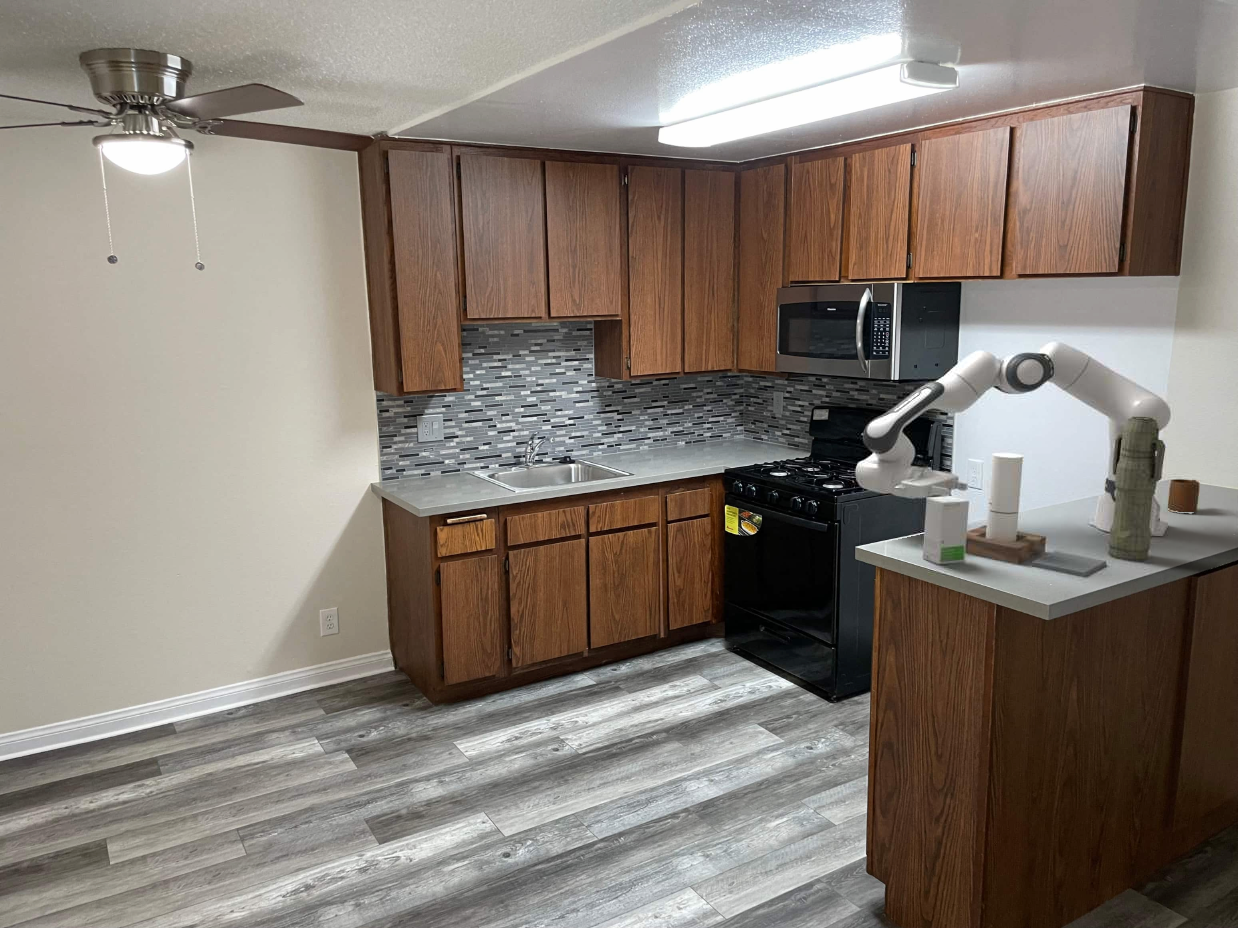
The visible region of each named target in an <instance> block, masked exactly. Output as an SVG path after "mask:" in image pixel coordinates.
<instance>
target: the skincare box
mask: <svg viewBox="0 0 1238 928" xmlns="http://www.w3.org/2000/svg"><path fill="white" fill-rule="evenodd" d="M925 498H926V504H925V518H924V519H925V520H924V534H923V548H922V559H923V560H926V561H929V562H931V563H934V564H937V565H945V564H946V565H947V564H957V563H958V562H959V563H965V560H966V553H965V549H966V535H967V532H968V521H969V518H968V517H969V509H970V508H969V507H970V500H968V499H964V498H960V497H956V496H953V495H952V496H929V497H925ZM959 563H958V564H959Z"/></svg>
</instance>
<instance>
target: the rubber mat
mask: <svg viewBox="0 0 1238 928" xmlns="http://www.w3.org/2000/svg"><path fill="white" fill-rule="evenodd" d="M1106 565H1107V560H1103V559H1098V558H1093V557H1087V556H1083V555H1077V554H1072V553H1069V552H1068V553H1067V552H1063V551H1057V550H1056V551H1052V552H1051V553H1048V554H1047V555H1044V556H1042V557H1040V558H1038V559H1035V560H1033V561H1031V566H1032V567H1034V566H1036V568H1040V569H1044V570H1045V569H1046V570H1049V571H1054V572H1059V573H1064V574H1069V575H1072V576H1077V577H1082V578H1084V577H1086V576H1088V575H1089V574H1091V573H1094V572H1096V571H1097V570H1100V569H1101V568H1104V567H1105V566H1106Z"/></svg>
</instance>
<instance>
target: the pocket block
mask: <svg viewBox="0 0 1238 928" xmlns="http://www.w3.org/2000/svg"><path fill="white" fill-rule="evenodd" d="M986 529H987V524H986V525H983V526H979V527H977V528H974V529H972V530H967V535H966V549H965V554H968V555H972V554H973V555H974V556H978V557H981V558H982V557H983V558H986V559H991V558H992V560H996V559H997V560H996V561H1001V560H1002V562H1005V561H1006V563H1010V562H1011V564H1015V563H1016V564H1015V565H1018V564H1021V563H1023V562H1025V561H1027V560H1030V559H1033V558H1034V557H1036V556H1038V555H1042V554H1043V553H1045V552H1046V542H1047V536H1045V535H1044V536H1043V535H1039V534H1036V533H1035V534H1034V533H1030V532H1028V533H1027V532H1023V531H1018V530H1017V535H1016V541H1015V542H1013V543H1008V542H1003V541H998V540H993V539H988V538H986ZM973 555H972V556H973Z"/></svg>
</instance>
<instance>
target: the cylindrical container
mask: <svg viewBox="0 0 1238 928" xmlns="http://www.w3.org/2000/svg"><path fill="white" fill-rule="evenodd" d="M1023 460H1024V455H1022V454H1018V453H1014V452H1011V453H1010V452H995V453H994V452H993V453H992V454H991V464H990V465H991V466H990V479H989V491H988V505H987V515H986V516H987V518H986V526H987V529H986V538H988V539H993V540H998V541H1003V542H1008V543H1013V542H1015V541H1016V535H1017V531H1018V523H1019V522H1018V521H1019V509H1020V498H1021V497H1020V496H1021V485H1022V473H1023V462H1024V461H1023Z"/></svg>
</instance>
